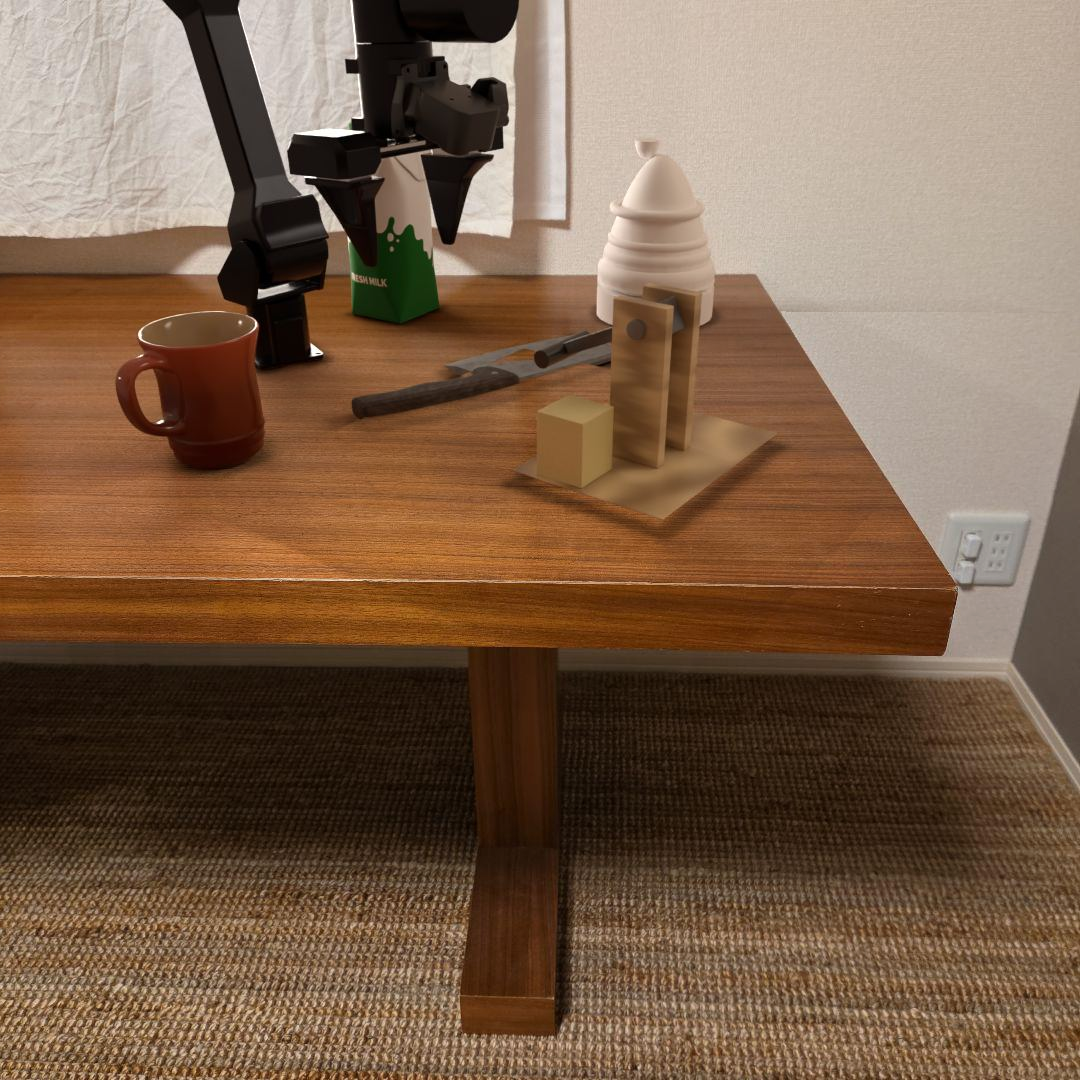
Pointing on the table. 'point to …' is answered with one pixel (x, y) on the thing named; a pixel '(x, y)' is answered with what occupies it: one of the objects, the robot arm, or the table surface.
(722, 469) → the wooden stand
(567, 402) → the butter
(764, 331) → the table surface
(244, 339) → the mug
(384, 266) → the milk carton
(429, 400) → the cleaver
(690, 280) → the honey pot
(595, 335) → the dark grey t-shaped bar
